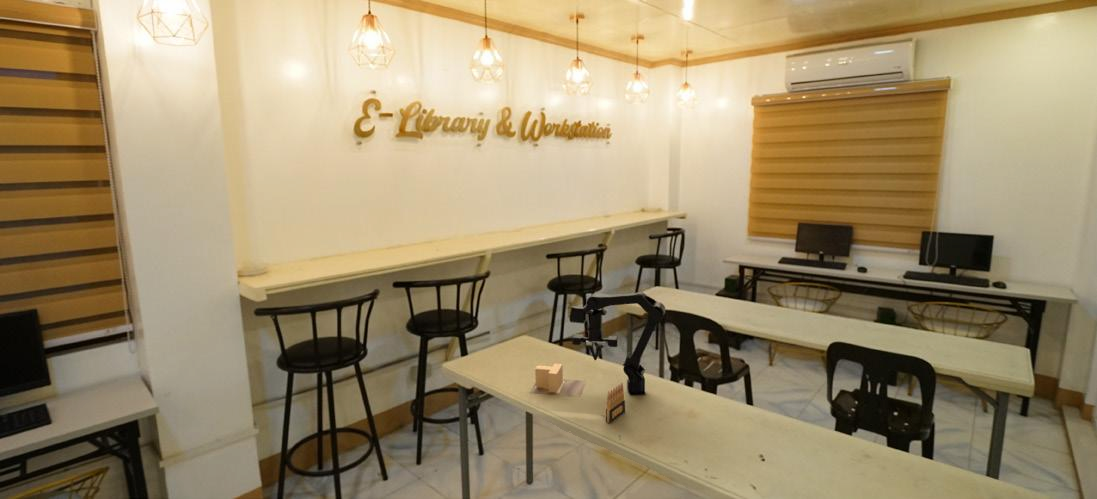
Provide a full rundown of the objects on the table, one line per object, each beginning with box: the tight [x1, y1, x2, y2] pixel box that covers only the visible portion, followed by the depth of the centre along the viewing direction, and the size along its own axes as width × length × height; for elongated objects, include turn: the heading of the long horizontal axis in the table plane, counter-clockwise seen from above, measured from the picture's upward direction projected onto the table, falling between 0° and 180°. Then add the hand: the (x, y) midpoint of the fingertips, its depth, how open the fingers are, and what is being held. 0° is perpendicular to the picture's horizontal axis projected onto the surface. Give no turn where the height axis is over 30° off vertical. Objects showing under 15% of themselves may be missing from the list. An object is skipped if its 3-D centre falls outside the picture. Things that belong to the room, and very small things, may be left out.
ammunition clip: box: [605, 382, 626, 424], centre depth 192 cm, size 11×2×12 cm, turn 140°
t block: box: [534, 363, 564, 392], centre depth 217 cm, size 10×10×8 cm
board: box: [529, 378, 587, 398], centre depth 217 cm, size 21×15×2 cm
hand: (595, 359), depth 217 cm, fingers closed
